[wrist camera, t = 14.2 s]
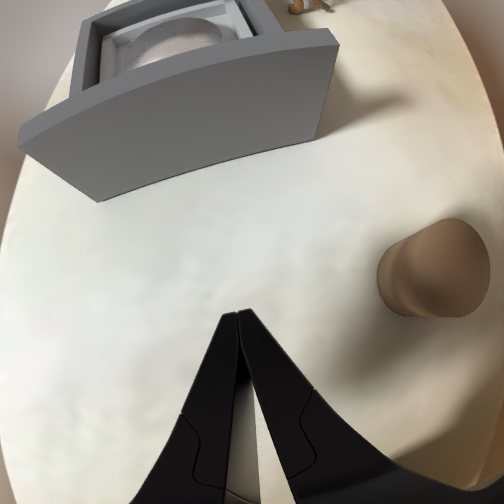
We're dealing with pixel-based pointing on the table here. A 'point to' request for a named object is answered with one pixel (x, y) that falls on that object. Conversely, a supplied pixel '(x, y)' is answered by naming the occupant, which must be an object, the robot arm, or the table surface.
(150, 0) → the dock
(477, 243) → the post
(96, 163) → the tray
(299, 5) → the lion figurine
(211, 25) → the disc
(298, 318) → the table surface
